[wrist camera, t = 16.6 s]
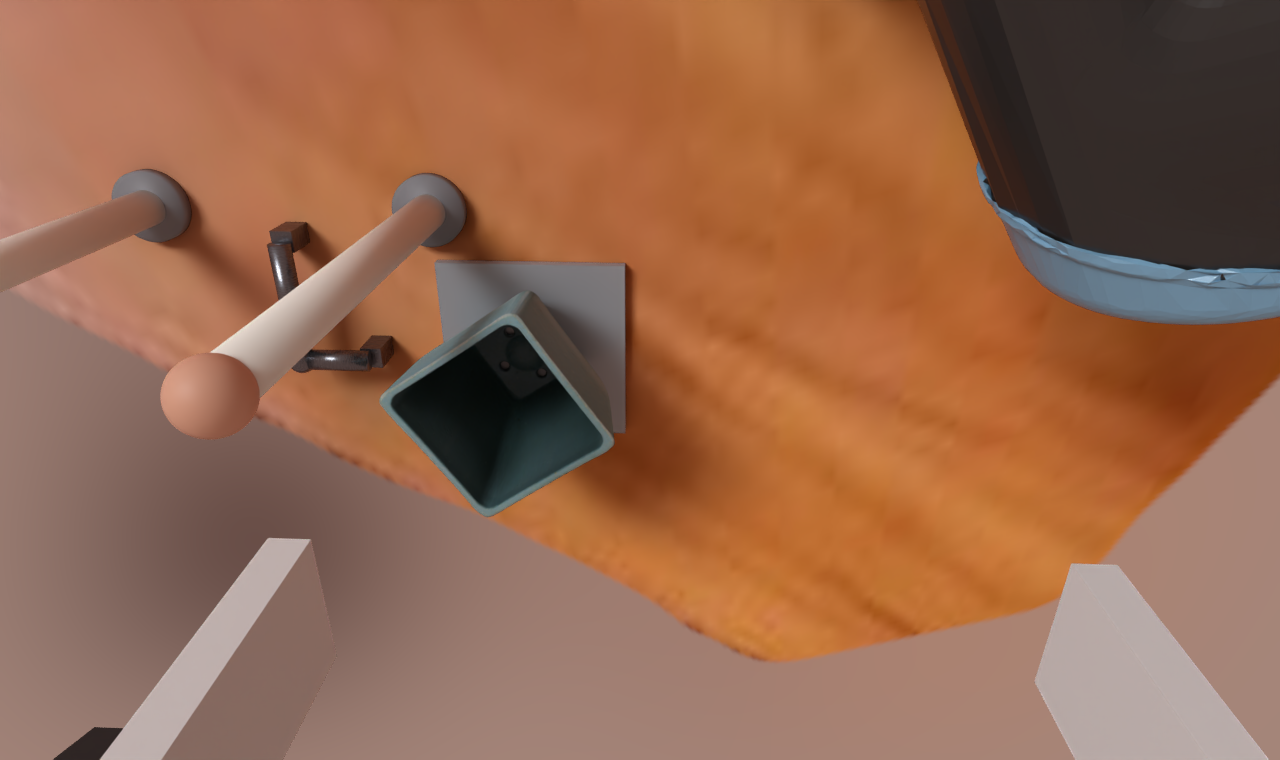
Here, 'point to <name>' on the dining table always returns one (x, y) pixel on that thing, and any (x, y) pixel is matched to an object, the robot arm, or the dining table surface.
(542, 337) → the flower pot
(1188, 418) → the dining table surface
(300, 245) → the bent rail
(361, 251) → the post
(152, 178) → the post
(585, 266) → the tile
